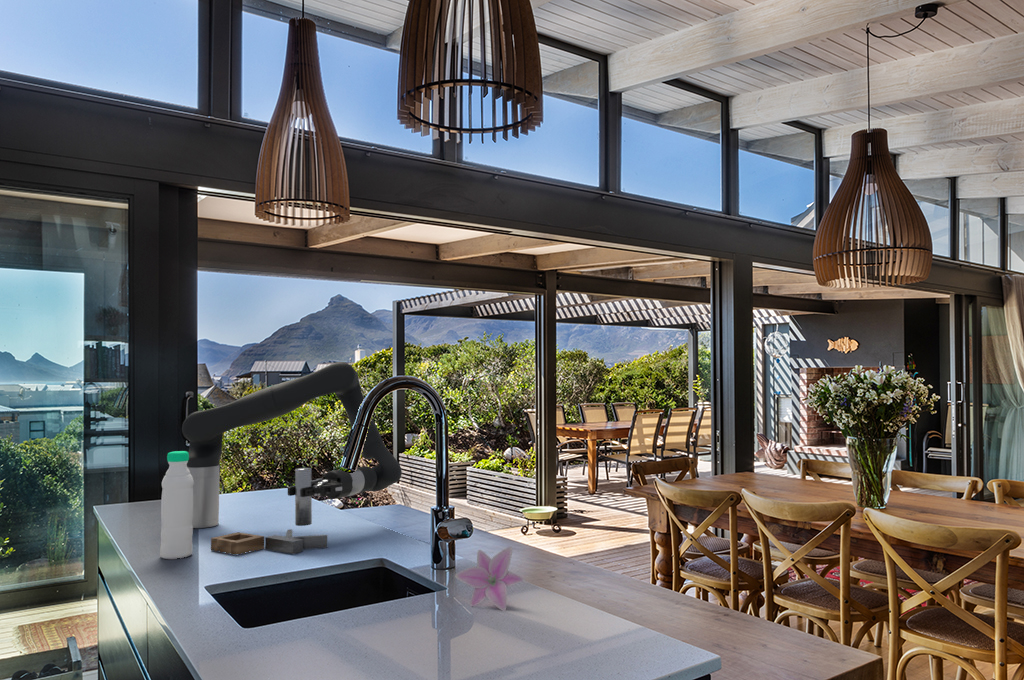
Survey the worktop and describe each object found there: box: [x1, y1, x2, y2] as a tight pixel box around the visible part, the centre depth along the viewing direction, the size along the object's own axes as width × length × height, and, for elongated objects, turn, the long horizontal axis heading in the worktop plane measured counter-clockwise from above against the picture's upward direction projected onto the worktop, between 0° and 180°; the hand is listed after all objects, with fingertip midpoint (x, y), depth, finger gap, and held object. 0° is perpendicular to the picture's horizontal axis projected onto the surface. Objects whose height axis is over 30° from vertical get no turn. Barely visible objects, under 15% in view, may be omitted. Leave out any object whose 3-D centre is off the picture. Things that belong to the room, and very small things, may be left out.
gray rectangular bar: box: [294, 467, 313, 527], centre depth 185 cm, size 4×4×14 cm
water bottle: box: [159, 450, 194, 560], centre depth 175 cm, size 7×7×25 cm
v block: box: [264, 529, 328, 555], centre depth 182 cm, size 14×10×3 cm
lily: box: [454, 546, 524, 611], centre depth 138 cm, size 12×12×10 cm
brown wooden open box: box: [210, 531, 265, 555], centre depth 181 cm, size 10×8×3 cm
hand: (295, 492), depth 183 cm, fingers closed on gray rectangular bar, 4 cm apart
